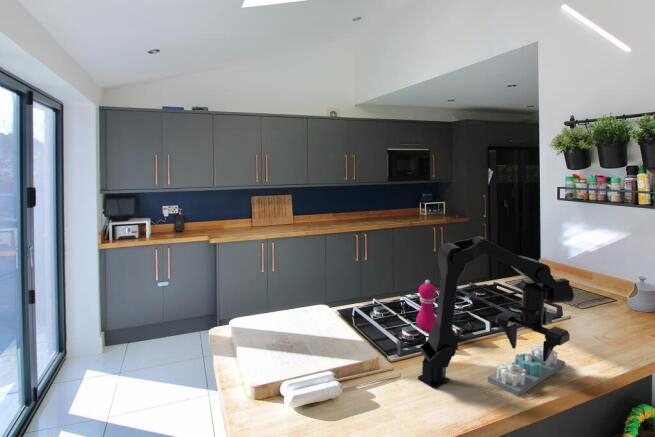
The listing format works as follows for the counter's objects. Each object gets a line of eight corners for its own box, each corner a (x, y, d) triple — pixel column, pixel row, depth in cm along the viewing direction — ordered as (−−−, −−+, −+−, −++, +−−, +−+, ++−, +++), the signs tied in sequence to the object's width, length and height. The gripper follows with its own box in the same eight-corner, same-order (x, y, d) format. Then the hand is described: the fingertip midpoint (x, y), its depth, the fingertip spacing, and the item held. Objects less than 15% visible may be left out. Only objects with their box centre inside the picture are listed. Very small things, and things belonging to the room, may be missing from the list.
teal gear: (533, 378, 113) (534, 368, 112) (509, 367, 119) (510, 357, 118) (546, 370, 117) (547, 360, 116) (522, 360, 123) (523, 351, 122)
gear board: (518, 396, 107) (519, 377, 106) (487, 381, 114) (488, 363, 113) (564, 366, 122) (566, 349, 121) (535, 354, 129) (536, 338, 128)
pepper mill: (436, 338, 141) (438, 283, 138) (416, 336, 143) (417, 282, 139) (435, 329, 148) (437, 277, 145) (415, 327, 150) (417, 276, 146)
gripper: (581, 307, 112) (576, 359, 114) (517, 289, 127) (514, 335, 129) (561, 316, 105) (557, 371, 108) (496, 296, 120) (493, 345, 123)
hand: (529, 354), depth 117 cm, fingers open, 9 cm apart
